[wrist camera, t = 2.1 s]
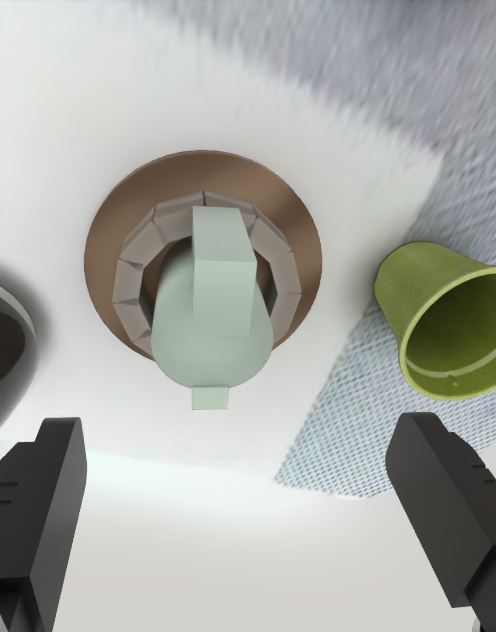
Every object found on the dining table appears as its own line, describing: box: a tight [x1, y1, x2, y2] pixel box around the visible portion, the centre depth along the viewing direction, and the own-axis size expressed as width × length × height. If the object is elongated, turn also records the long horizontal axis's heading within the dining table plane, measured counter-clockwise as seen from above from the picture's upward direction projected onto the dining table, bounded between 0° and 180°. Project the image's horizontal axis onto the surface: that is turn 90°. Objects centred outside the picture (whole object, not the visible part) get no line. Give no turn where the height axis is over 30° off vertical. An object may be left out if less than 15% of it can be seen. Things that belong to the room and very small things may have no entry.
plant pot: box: [374, 242, 496, 401], centre depth 29 cm, size 9×9×9 cm
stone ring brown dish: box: [84, 150, 322, 362], centre depth 29 cm, size 16×16×4 cm
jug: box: [151, 206, 274, 410], centre depth 24 cm, size 11×6×12 cm, turn 175°
